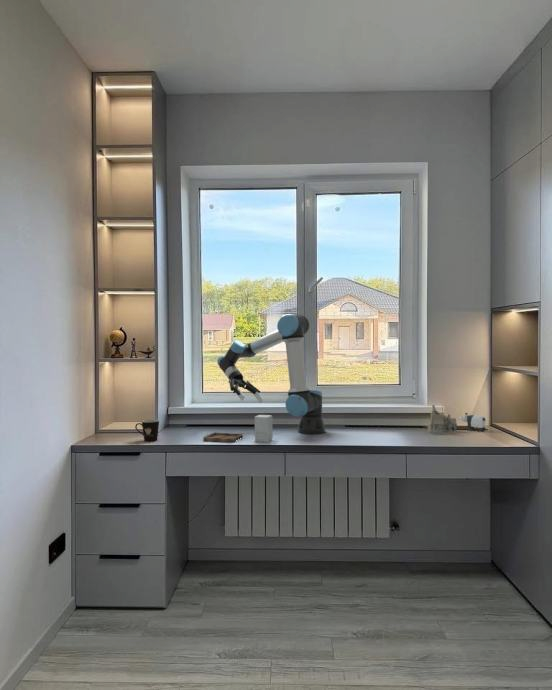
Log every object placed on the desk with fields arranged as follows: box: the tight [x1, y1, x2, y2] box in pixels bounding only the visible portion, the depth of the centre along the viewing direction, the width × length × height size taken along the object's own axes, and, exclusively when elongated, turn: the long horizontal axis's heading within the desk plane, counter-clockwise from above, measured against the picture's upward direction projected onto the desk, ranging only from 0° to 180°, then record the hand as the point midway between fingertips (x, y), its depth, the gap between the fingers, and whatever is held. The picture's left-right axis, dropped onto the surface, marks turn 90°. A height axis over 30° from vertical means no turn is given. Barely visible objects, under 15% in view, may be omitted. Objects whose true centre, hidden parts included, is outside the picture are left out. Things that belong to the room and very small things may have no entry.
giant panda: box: [459, 412, 487, 433], centre depth 294 cm, size 15×6×10 cm, turn 47°
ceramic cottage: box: [427, 404, 458, 436], centre depth 288 cm, size 16×16×15 cm
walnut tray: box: [203, 431, 244, 443], centre depth 270 cm, size 16×14×2 cm
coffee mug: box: [135, 419, 160, 443], centre depth 269 cm, size 12×9×10 cm
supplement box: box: [253, 414, 274, 443], centre depth 267 cm, size 7×7×13 cm
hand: (252, 399), depth 283 cm, fingers open, 13 cm apart
